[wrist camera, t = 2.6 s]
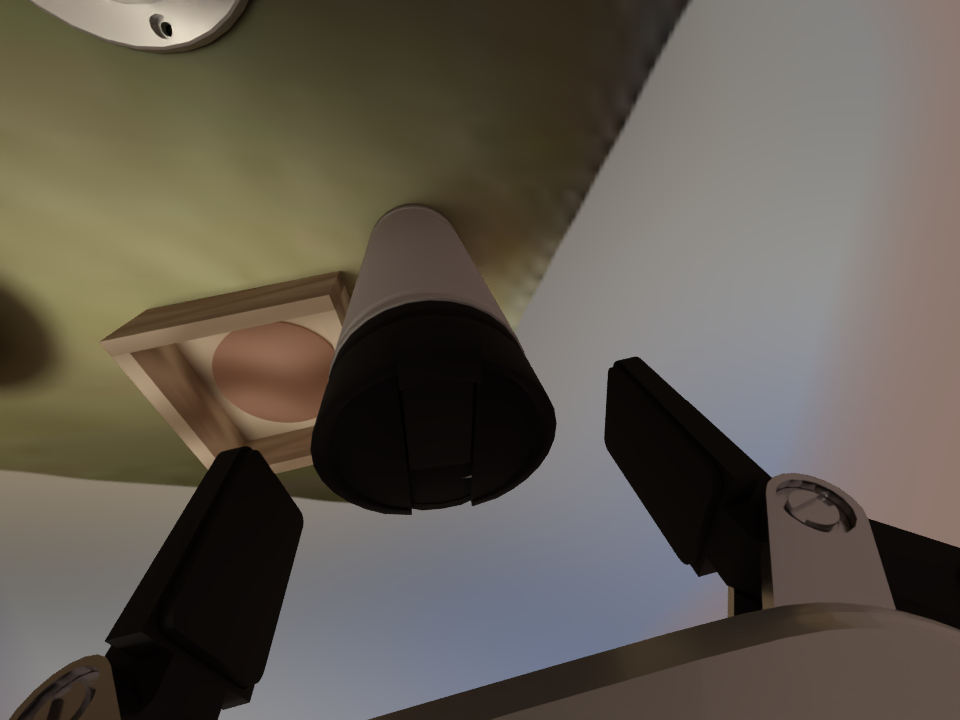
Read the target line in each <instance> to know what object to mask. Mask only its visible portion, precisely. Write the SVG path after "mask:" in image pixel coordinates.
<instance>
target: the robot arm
mask: <svg viewBox="0 0 960 720" xmlns="http://www.w3.org/2000/svg"><path fill="white" fill-rule="evenodd" d="M29 1H30V2H32V3H33V4H34V5H36V6H37V7H38V8H40V9H42V10H43V11H45V12H47V13H49V14H50V15H52V16H54V17H55V18H57V19H59V20H61V21H62V22H64V23H66V24H67V25H69V26H71V27H73V28H75V29H77V30H79V31H82V32H84V33H87V34H89V35H92V36H94V37H96V38H99V39H101V40H104V41H106V42H109V43H112V44H116V45H119V46H122V47H126V48H129V49H132V50H139V51H146V52H154V53H161V54H163V53H174V52H186V51H190V50H193V49H195V48H198V47H201V46H204V45H207V44H209V43H211V42H212V41H214V40H215V39H217V38H218V37H219V36H221V35H222V34H224V33H225V32H226V31H228V30H229V29H230V28H231V26H232V25H233V24H234V23H235V21H236V20H237V19H238V17H239V16H240V15H241V14H242V12H243V11H244V10H245V7H246V5H247V3H248V1H249V0H29ZM169 24H170V25H171V27H172V31H173V32H172V36H171V37H170V36H169V35H168V34H167V32H166V26H167V25H169ZM604 440H605V444H606V447H607V450H608V451H609V453H610V455H611V456H612V458H613V459H614V460H615V462H616V463H617V465H618V467H619V468H620V470H621V471H622V473H623V474H624V476H625V477H626V479H627V480H628V482H629V483H630V485H631V486H632V488H633V489H634V491H635V492H636V494H637V495H638V497H639V499H640V500H641V502H642V503H643V505H644V506H645V508H646V509H647V510H648V512H649V514H650V515H651V517H652V518H653V520H654V521H655V523H656V524H657V526H658V527H659V529H660V530H661V532H662V533H663V535H664V536H665V538H666V539H667V541H668V543H669V544H670V546H671V547H672V549H673V550H674V552H675V553H676V555H677V556H678V558H679V559H680V560H681V561H682V562H683V563H684V564H687V565H688V564H690V565H691V566H692V568H693V569H694V571H695V572H696V574H697V575H698V577H700V576H703V575H707V574H711V573H714V572H718V574H719V575H720V577H721V578H722V579H723V581H724V582H725V583H726V585H728V618H725V619H722V620H718V621H714V622H710V623H706V624H702V625H699V626H695V627H691V628H687V629H683V630H679V631H676V632H672V633H668V634H665V635H661V636H657V637H654V638H651V639H647V640H643V641H640V642H637V643H633V644H629V645H626V646H622V647H619V648H616V649H612V650H608V651H605V652H601V653H597V654H594V655H590V656H587V657H583V658H580V659H577V660H573V661H569V662H566V663H562V664H559V665H555V666H552V667H549V668H545V669H541V670H538V671H534V672H531V673H528V674H524V675H521V676H517V677H514V678H510V679H507V680H503V681H500V682H496V683H493V684H489V685H486V686H482V687H479V688H476V689H472V690H469V691H465V692H462V693H458V694H455V695H451V696H448V697H444V698H441V699H438V700H434V701H431V702H427V703H424V704H420V705H417V706H413V707H410V708H407V709H403V710H400V711H396V712H393V713H390V714H386V715H383V716H379V717H376V718H373V719H369V720H960V548H958V547H955V546H952V545H949V544H946V543H943V542H940V541H936V540H933V539H930V538H927V537H924V536H921V535H918V534H915V533H912V532H908V531H905V530H902V529H899V528H896V527H893V526H890V525H887V524H883V523H880V522H877V521H874V520H871V519H868V518H867V516H866V514H865V512H864V510H863V508H862V507H861V506H860V505H859V504H858V503H857V502H856V501H855V500H854V499H853V498H852V497H851V496H849V495H848V494H847V493H845V492H844V491H842V490H841V489H840V488H838V487H836V486H834V485H832V484H830V483H828V482H826V481H824V480H821V479H818V478H815V477H812V476H809V475H803V474H796V473H789V474H781V475H778V476H775V477H773V478H772V477H770V476H769V475H768V474H767V473H766V472H765V471H764V470H763V469H762V468H761V467H759V466H758V465H757V464H756V463H755V462H754V461H753V460H752V459H750V458H749V456H747V455H746V454H745V453H744V452H743V451H742V450H741V449H740V448H739V447H738V446H736V445H735V444H734V443H733V442H732V441H731V440H730V439H729V438H728V437H727V436H725V435H724V434H723V433H722V432H721V431H720V430H719V429H718V428H717V427H716V426H715V425H713V424H712V423H711V422H710V421H709V420H708V419H707V418H706V417H705V416H704V415H702V414H701V413H700V412H699V411H698V410H697V409H696V408H695V407H693V406H692V404H690V403H689V402H688V401H687V400H685V399H684V398H683V397H682V396H681V395H680V394H678V393H677V392H676V391H675V390H674V389H673V388H672V387H671V386H670V385H669V384H668V383H667V382H666V381H664V380H663V379H662V378H661V377H660V376H659V375H658V374H657V373H656V372H655V371H654V370H652V369H651V368H650V367H649V366H648V365H647V364H646V363H645V362H644V361H643V360H641V359H640V358H639V357H631V358H627V359H623V360H618V361H616V362H615V363H614V365H613V367H612V368H609V370H608V382H607V401H606V417H605V437H604ZM302 528H303V516H302V513H301V511H300V510H299V508H298V507H297V505H296V504H295V503H294V501H293V499H292V498H291V497H290V495H289V494H288V492H287V491H286V489H285V488H284V486H283V485H282V483H281V482H280V481H279V479H278V478H277V476H276V475H275V473H274V472H273V470H272V469H271V467H270V466H269V464H268V463H267V462H266V460H265V459H264V457H263V456H262V454H261V453H260V452H259V451H258V450H253V449H252V448H251V447H249V446H243V447H239V448H234V449H230V450H226V451H222V452H220V453H219V454H218V455H217V456H216V458H215V460H214V461H213V463H212V465H211V466H210V468H209V470H208V471H207V473H206V475H205V476H204V478H203V480H202V481H201V483H200V485H199V486H198V488H197V490H196V491H195V493H194V495H193V496H192V498H191V499H190V501H189V503H188V504H187V506H186V508H185V509H184V511H183V513H182V514H181V516H180V518H179V519H178V521H177V523H176V524H175V526H174V528H173V530H172V531H171V533H170V534H169V536H168V538H167V539H166V541H165V542H164V544H163V546H162V547H161V549H160V551H159V553H158V554H157V556H156V557H155V559H154V561H153V562H152V564H151V565H150V567H149V569H148V570H147V573H146V574H145V575H144V577H143V579H142V580H141V582H140V584H139V585H138V587H137V589H136V590H135V592H134V594H133V595H132V597H131V599H130V600H129V602H128V603H127V605H126V607H125V608H124V610H123V612H122V613H121V615H120V617H119V619H118V620H117V622H116V623H115V625H114V627H113V628H112V630H111V632H110V633H109V635H108V637H107V638H106V640H105V642H107V643H109V644H110V645H111V647H110V648H109V650H108V652H107V653H106V655H105V657H104V656H101V655H92V656H86V657H83V658H81V659H79V660H77V661H75V662H72V663H70V664H68V665H67V666H65V667H64V668H62V669H61V670H59V671H58V672H56V673H55V674H53V675H52V676H51V677H49V679H47V680H46V681H45V682H44V683H42V684H41V685H40V686H39V687H38V688H37V689H36V690H34V691H33V692H32V693H31V695H29V697H28V698H27V699H26V700H25V701H24V702H23V703H22V704H21V705H20V706H19V707H18V708H17V710H16V711H15V712H14V713H13V715H12V716H11V718H10V719H9V720H218V717H219V714H220V711H221V709H223V710H224V709H228V708H232V707H235V706H238V705H242V704H246V703H249V702H250V700H251V696H252V692H253V689H254V685H255V684H256V683H258V682H259V681H260V679H261V677H262V675H263V673H264V670H265V666H266V663H267V659H268V655H269V651H270V647H271V644H272V640H273V636H274V633H275V629H276V625H277V622H278V618H279V614H280V610H281V607H282V603H283V599H284V596H285V592H286V588H287V584H288V581H289V576H290V573H291V569H292V566H293V562H294V558H295V554H296V551H297V547H298V543H299V539H300V536H301V532H302Z"/></svg>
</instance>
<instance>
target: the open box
mask: <svg viewBox="0 0 960 720" xmlns="http://www.w3.org/2000/svg"><path fill="white" fill-rule="evenodd" d="M350 301H351V300H350V297H349V294H348V292H347V289H346V286H345V284H344V281H343V278H342V276H341V273H340V271H338V272H333V273H328V274H323V275H318V276H313V277H308V278H303V279H298V280H293V281H288V282H283V283H278V284H273V285H268V286H263V287H258V288H253V289H248V290H243V291H238V292H233V293H228V294H223V295H218V296H213V297H209V298H204V299H199V300H194V301H189V302H184V303H179V304H174V305H169V306H164V307H159V308H154V309H149V310H145V311H144V312H143V313H141V314H140V315H138V316H137V317H135V318H134V319H132V320H131V321H129V322H128V323H126V324H125V325H123V326H122V327H120V328H119V329H117V330H116V331H114V332H113V333H112V334H110V335H109V336H107V337H106V338H104V339H103V340H101V341H100V342H99V343H100V344H101V345H102V346H103V347H104V348H105V350H106V351H107V352H108V353H109V354H110V355H111V357H112V358H113V359H114V360H115V361H116V362H117V364H118V365H119V366H120V367H121V368H122V369H123V371H124V372H125V373H126V374H127V375H128V377H129V378H130V379H131V380H132V381H133V382H134V384H135V385H136V386H137V387H138V388H139V389H140V391H141V392H142V393H143V394H144V395H145V396H146V398H147V399H148V400H149V401H150V402H151V403H152V405H153V406H154V407H155V408H156V409H157V411H158V412H159V413H160V414H161V415H162V416H163V418H164V419H165V420H166V421H167V422H168V423H169V425H170V426H171V427H172V428H173V429H174V430H175V432H176V433H177V434H178V435H179V436H180V437H181V439H182V440H183V441H184V442H185V443H186V445H187V446H188V447H189V448H190V449H191V450H192V452H193V453H194V454H195V455H196V456H197V457H198V459H199V460H200V461H201V462H202V463H203V464H204V466H205V467H206V468H207V469H208V470H209V468H210V466H211V465H212V463H213V461H214V460H215V458H216V456H217V455H218V454H219V453H220V452H222V451H226V450H230V449H234V448H239V447H243V446H249V447H251V448H252V449H253V450H258V451H259V452H260V453H261V454H262V456H263V457H264V459H265V460H266V462H267V463H268V464H269V466H270V467H271V469H272V470H273V472H274V473H275V474H276V473H280V472H284V471H288V470H293V469H297V468H301V467H305V466H309V465H313V461H312V456H311V452H310V447H311V439H312V432H313V428H314V425H315V422H316V419H317V415H318V412H319V409H320V405H321V402H322V399H323V395H324V392H325V389H326V386H327V384H328V378H329V371H330V365H331V362H332V359H333V356H334V353H335V349H336V346H337V342H338V339H339V336H340V333H341V329H342V326H343V323H344V320H345V317H346V313H347V310H348V307H349V304H350Z"/></svg>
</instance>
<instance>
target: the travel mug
mask: <svg viewBox="0 0 960 720" xmlns="http://www.w3.org/2000/svg"><path fill="white" fill-rule="evenodd" d="M555 430H556V417H555V412H554V408H553V405H552V403H551V401H550V399H549V397H548V396H547V394H546V392H545V390H544V388H543V386H542V385H541V383H540V381H539V379H538V378H537V376H536V374H535V373H534V370H533V369H532V367H531V365H530V363H529V362H528V360H527V358H526V357H525V354H524V351H523V349H522V347H521V345H520V343H519V341H518V339H517V337H516V335H515V333H514V332H513V331H512V329H511V327H510V325H509V323H508V321H507V319H506V318H505V316H504V314H503V313H502V311H501V309H500V307H499V306H498V304H497V302H496V300H495V299H494V297H493V295H492V294H491V292H490V290H489V288H488V287H487V285H486V283H485V281H484V280H483V278H482V276H481V275H480V273H479V271H478V269H477V268H476V266H475V264H474V262H473V261H472V259H471V257H470V255H469V254H468V252H467V250H466V249H465V247H464V245H463V243H462V242H461V240H460V238H459V236H458V235H457V233H456V231H455V230H454V228H453V226H452V225H451V224H450V222H449V221H448V220H447V219H446V218H445V217H444V216H443V215H442V214H441V213H439V212H438V211H436V210H434V209H432V208H430V207H427V206H424V205H418V204H407V205H401V206H398V207H395V208H393V209H391V210H390V211H388V212H386V213H385V214H384V215H383V216H382V217H381V218H380V219H379V220H378V222H377V223H376V225H375V226H374V229H373V231H372V233H371V236H370V240H369V243H368V246H367V249H366V252H365V256H364V259H363V262H362V265H361V268H360V272H359V275H358V278H357V281H356V284H355V288H354V291H353V294H352V297H351V301H350V304H349V307H348V310H347V313H346V317H345V320H344V323H343V326H342V329H341V333H340V336H339V339H338V342H337V346H336V349H335V353H334V356H333V359H332V362H331V365H330V371H329V378H328V384H327V386H326V389H325V392H324V395H323V399H322V402H321V405H320V409H319V412H318V415H317V419H316V422H315V425H314V428H313V432H312V439H311V447H310V452H311V456H312V461H313V466H314V468H315V469H316V471H317V473H318V475H319V476H320V478H321V480H322V481H323V482H324V483H325V484H326V485H327V486H328V487H329V488H330V489H331V490H332V491H333V492H334V493H335V494H337V495H339V496H340V497H342V498H343V499H345V500H346V501H348V502H350V503H352V504H355V505H357V506H360V507H362V508H364V509H367V510H371V511H375V512H379V513H383V514H401V515H412V508H413V509H418V510H431V509H442V508H447V507H452V506H457V505H462V504H464V503H466V502H468V501H470V500H471V503H472V506H475V505H478V504H481V503H483V502H486V501H490V500H493V499H496V498H498V497H500V496H501V495H503V494H505V493H507V492H508V491H510V490H512V489H514V488H515V487H516V486H518V485H519V484H521V483H522V482H523V481H525V480H526V479H527V478H528V477H529V476H530V475H531V474H532V473H533V472H534V471H535V470H536V469H537V468H538V467H539V466H540V465H541V463H542V462H543V460H544V459H545V457H546V456H547V455H548V453H549V451H550V448H551V446H552V443H553V441H554V437H555Z"/></svg>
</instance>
